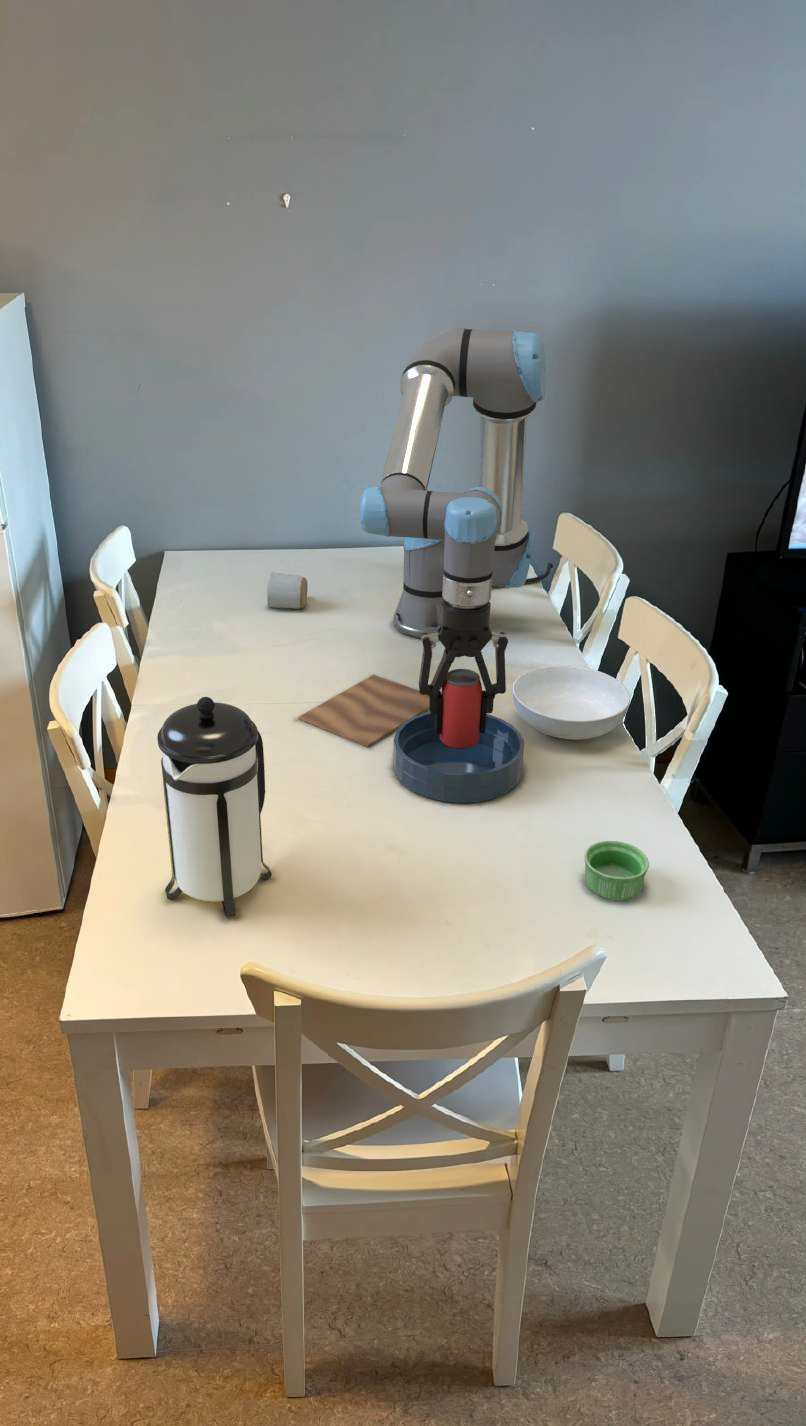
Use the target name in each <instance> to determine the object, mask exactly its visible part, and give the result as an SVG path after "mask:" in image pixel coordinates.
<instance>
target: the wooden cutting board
mask: <svg viewBox="0 0 806 1426" xmlns="http://www.w3.org/2000/svg"><path fill="white" fill-rule="evenodd" d="M427 710H429V696H428V695H426V694H424V695H422V694H420V692H419V689H418V690H417V689H416V688H412V687H409V686H407V685H403V684H401V683H398V682H395V681H393V680H390V679H388V678H384V677H382V676H379V675H376V674H372V675H370V676H369V677H367V678H365V679H364V680H362V681H360V682H358V683H357V684H355V685H353V686H351V687H349V688H347V689H345V690H344V691H342V692H340V693H338V694H336V695H334V696H333V697H331V698H329V699H328V700H326V701H324V702H322V703H321V704H319V705H317V706H316V707H314V708H312V709H310V710H308V711H306V712H305V713H303V714H301V715H299V716H298V720H299V721H301V722H304V723H306V724H308V725H311V726H313V727H316V728H319V729H321V730H323V731H326V732H328V733H331V734H334V735H336V736H338V737H341V738H343V739H346V740H348V741H351V742H353V743H355V744H358V745H361V746H363V747H366V748H370V747H371V746H373V745H374V744H376V743H377V742H379V741H381V740H382V739H384V738H385V737H387V736H388V735H390V734H392V733H393V732H394V731H395V732H396V731H397V729H398V728H399V727H400V726H401V725H402V724H403V723H404V722H406V721H407V720H409V719H411V718H412V717H415V716H418V715H420V714H423V713H425V712H426V711H427Z"/></svg>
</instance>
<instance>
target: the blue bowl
mask: <svg viewBox="0 0 806 1426" xmlns="http://www.w3.org/2000/svg"><path fill="white" fill-rule="evenodd" d="M524 753H525V741H524V738H523V736H522V734H521V732H520V731H519V730H518V729H517V728H516V727H514V725H512V724H511V723H509V722H507V721H506V720H504V719H502V718H500V717H497V716H495V715H493V714H492V715H491V714H490V713H486V726H485V733H480V736H479V741H478V743H477V744H476V745H474V746H473V747H470V748H467V749H454V748H450V747H448V746H446V745H445V744H443V743H442V741H441V740H440V734H436V729H435V714H431V713H430V711H427V712H423V713H421V714H420V715H418V716H415V717H412V718H411V719H409V720H407V721H406V722H404V723H403V724H402V725H401V726H400V727H399V728H398V729H396V730H395V733H394V736H393V754H392V755H393V756H392V757H393V758H392V764H393V765H392V767H393V771H394V775H395V776H396V778H397V779H398V780H399V782H400V783H401V784H402V785H403V786H404V787H406V788H408V790H411V791H412V792H414V793H415V794H419V795H420V796H423V797H425V798H429V799H432V800H436V801H441V802H448V803H449V802H450V803H460V804H461V803H478V802H484V801H488V800H493V799H496V798H498V797H500V796H503V795H506V794H508V793H510V791H511V790H513V789H514V788H515V787H516V786H517V785H518V784H519V782H520V780H521V778H522V776H523V765H524Z"/></svg>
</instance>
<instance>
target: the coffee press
mask: <svg viewBox="0 0 806 1426" xmlns="http://www.w3.org/2000/svg"><path fill="white" fill-rule="evenodd" d="M156 740H157V746H158V748H159V750H160V751H161V756H162V757H161V759H160V764H161V775H162V787H163V796H164V807H165V817H166V826H167V837H168V845H169V855H170V856H169V857H170V866H171V867H170V868H171V878H170V881H169V882H168V884H167V885H166V887H165V889H164V892H165V896H166V898H167V900H171V901H173V900H176V899H177V898H178V897H179V896H180V894H181V893H184V894H185V895H187V896H189V897H191V898H192V899H195V900H199V901H203V902H204V901H205V902H221V903H222V907H223V913H224V916H225V918H226V919H227V918H232V917H237V909H236V906H235V905H236V904H235V899H236V898H239V897H240V896H243V895H245V894H246V893H247V892H249V891H250V890H251V889H253V887H255V886H256V884H257V883H258V881H259V880H260V879H262V880H264V881H267V880H269V879H271V878H272V875H273V873H272V871H271V869H270V867H269V865H267V864H266V863H265V862H264V857H263V839H262V819H261V813H262V811H263V809H264V804H265V799H266V772H265V771H266V770H265V753H264V743H263V738H262V735H261V733H260V731H259V729H258V727H257V725H256V724H255V722H254V721H253V720H252V718H251V717H250V716H249V715H248V713H246V712H245V711H244V710H242V709H241V708H239V707H237V706H234V705H232V704H229V703H223V702H217V701H216V702H215V701H214V700H213V699H212V698H211V697H209V696H202V697H200V698H199V699H198V701H197V703H193V704H189V705H186V706H183V707H181V708H179V709H177V710H176V711H174V712H172V713H171V714H170V715H169V716H168V717H167V718H166V719H165V720H164V722H163V724H162V727H160V729H159V730H158V732H157V737H156ZM262 866H263V868H264V869H265V870H266V871H267V872H265V873H262ZM175 884H176V885H177V888H176V889H175V890H174V891H172V889H173V887H174V885H175ZM171 891H172V892H171Z"/></svg>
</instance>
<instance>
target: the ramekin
mask: <svg viewBox="0 0 806 1426" xmlns="http://www.w3.org/2000/svg"><path fill="white" fill-rule="evenodd" d="M584 864H585V865H584V882H585V885H586V886H587V888H588V889H589V890H590V891H591V892H592V893H594V894H595V895H597V896H599V897H600V898H601V897H602V898H603V899H606V900H612V901H624V900H629V899H631V898H635V896H637V895H638V894H640V892H641V890H642V887H643V884H644V880H645V876H646V874H647V872H648V870H649V866H650V862H649V859H648V856H647V855H646V853H645V852H644V851H642V850H641V849H640V848H639V847H637V846H635V845H632V844H630V843H627V842H623V841H618V840H601V841H598V842H595V843H592V844H591V845H590V846H589V847H588V848H587V849H586V850H585V852H584Z"/></svg>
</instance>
